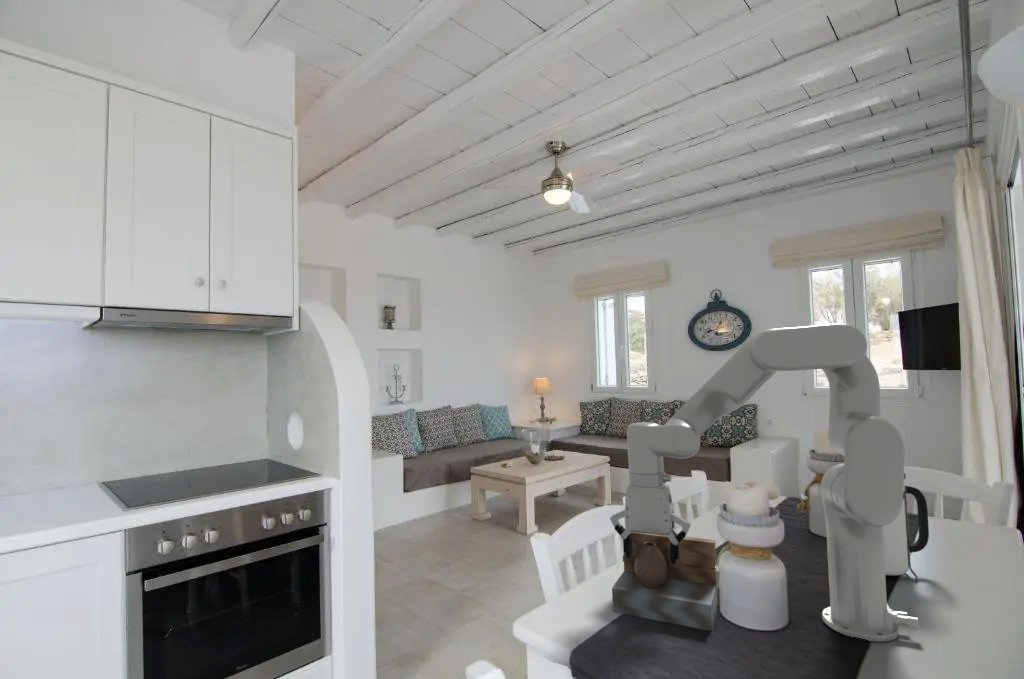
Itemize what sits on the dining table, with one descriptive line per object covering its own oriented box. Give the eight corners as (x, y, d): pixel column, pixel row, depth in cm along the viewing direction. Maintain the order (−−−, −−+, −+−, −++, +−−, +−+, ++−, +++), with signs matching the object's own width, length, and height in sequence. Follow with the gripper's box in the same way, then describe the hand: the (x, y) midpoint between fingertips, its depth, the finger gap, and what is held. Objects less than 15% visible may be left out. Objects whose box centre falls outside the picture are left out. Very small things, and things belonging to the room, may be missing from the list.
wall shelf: (718, 605, 113) (715, 540, 113) (712, 631, 102) (708, 558, 103) (627, 589, 122) (625, 529, 122) (612, 611, 111) (610, 545, 112)
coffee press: (915, 593, 116) (907, 458, 118) (835, 573, 128) (828, 451, 130) (932, 571, 128) (924, 449, 129) (856, 554, 140) (850, 443, 141)
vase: (669, 592, 108) (667, 549, 109) (635, 590, 110) (634, 548, 110) (666, 578, 115) (664, 538, 116) (634, 577, 116) (632, 537, 117)
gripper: (690, 478, 113) (695, 557, 112) (613, 473, 121) (617, 548, 120) (685, 485, 106) (690, 570, 105) (603, 480, 114) (607, 559, 113)
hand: (651, 558), depth 113 cm, fingers open, 9 cm apart
